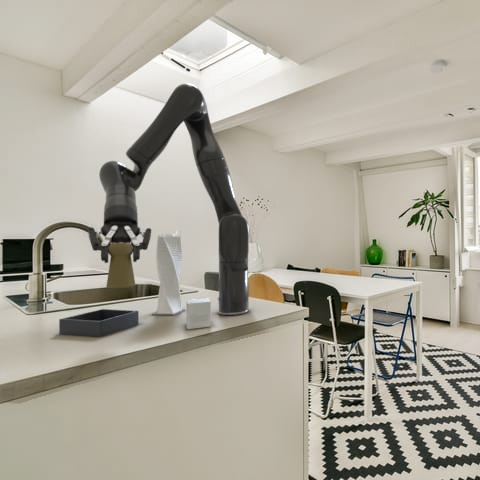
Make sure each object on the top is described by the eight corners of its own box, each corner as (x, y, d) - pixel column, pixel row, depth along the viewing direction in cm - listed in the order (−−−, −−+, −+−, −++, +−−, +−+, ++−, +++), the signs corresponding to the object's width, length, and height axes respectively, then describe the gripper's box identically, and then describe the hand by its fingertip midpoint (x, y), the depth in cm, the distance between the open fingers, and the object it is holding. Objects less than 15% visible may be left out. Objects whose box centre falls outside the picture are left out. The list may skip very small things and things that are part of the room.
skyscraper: (188, 310, 115) (188, 229, 114) (176, 316, 107) (176, 228, 106) (164, 310, 115) (164, 229, 114) (149, 315, 106) (149, 228, 106)
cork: (120, 288, 81) (119, 243, 80) (99, 287, 82) (99, 243, 82) (141, 284, 87) (141, 242, 86) (122, 283, 88) (121, 242, 87)
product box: (210, 327, 94) (211, 301, 94) (186, 329, 92) (186, 303, 91) (209, 322, 100) (209, 297, 100) (186, 324, 97) (186, 299, 97)
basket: (102, 322, 99) (102, 308, 99) (138, 324, 97) (138, 310, 97) (59, 334, 87) (59, 319, 87) (99, 336, 85) (99, 321, 85)
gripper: (86, 202, 86) (82, 250, 76) (152, 205, 94) (155, 249, 84) (88, 223, 90) (84, 271, 81) (151, 224, 98) (154, 268, 89)
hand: (121, 260), depth 83 cm, fingers closed on cork, 5 cm apart
